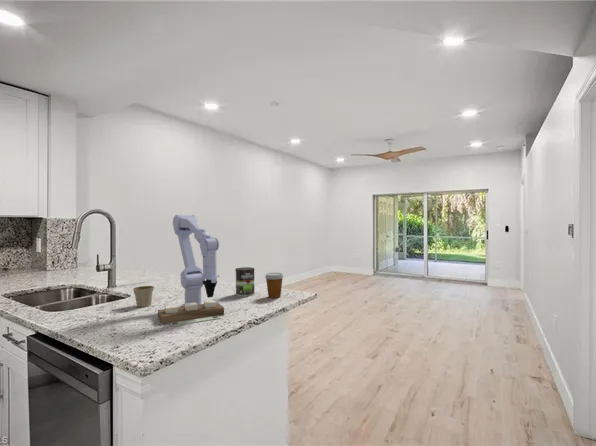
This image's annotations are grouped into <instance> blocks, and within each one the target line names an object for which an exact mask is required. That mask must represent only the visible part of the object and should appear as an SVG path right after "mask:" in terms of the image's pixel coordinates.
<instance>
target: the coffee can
mask: <svg viewBox="0 0 596 446" xmlns="http://www.w3.org/2000/svg"><path fill="white" fill-rule="evenodd" d="M234 271H235V296H238V297H250V296H254V295H255V267H249V266H248V267H247V266H246V267H245V266H244V267H237V268H235V270H234Z"/></svg>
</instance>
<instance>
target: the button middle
mask: <svg viewBox="0 0 596 446" xmlns="http://www.w3.org/2000/svg"><path fill="white" fill-rule="evenodd" d="M184 304H185V303H184ZM197 309H198V304H197V303H196V302H194V303H186V304H185V310H186V311H190V310H197Z"/></svg>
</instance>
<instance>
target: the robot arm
mask: <svg viewBox="0 0 596 446" xmlns="http://www.w3.org/2000/svg"><path fill="white" fill-rule="evenodd" d="M172 218H173V219H172V227H173V232H174V234H175V235H177V238H178V243H179V247H180V251H181V256H182V260H183V264H184V269H183V270H182V271H181V272H180V285H181V287H182V288H183V289H184V303H183V304H182V307H185V304H186V303H194V302H196V303H197V304H198V305H200V304H202V288H203V286H204V289H205V293H206V296H207V298H213V297H214V294H215V289H216V286H217V284H218V280H217V279H218V278H220V274H217V272H218V271H217V251H218V250H219V247H220V242H219V240H218V238H217V237H213V236H211V235H210V234H209V233H208V231H207V230H206V229H205V228H201V227H200V225H199V224H198V220H197V219H198V218H197V217H196V216H195V214H191V215H182V214H181V215H180V214H176V215H174V216H173V217H172ZM191 234H193V237H194V239H195V240H196V242H197V243H198V244H199V248H200V252H201V256H202V268H201V267H199V266H198V265H197V264H196V259H195V257H194V252H193V247H192V242H191V238H190V235H191Z"/></svg>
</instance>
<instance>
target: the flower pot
mask: <svg viewBox="0 0 596 446" xmlns="http://www.w3.org/2000/svg"><path fill="white" fill-rule="evenodd" d="M154 289H155V286H154V285H143V286H136V287H133V288H132V290H133V293H134V296H135V302H136V307H138V308H146V307H149V306H151V305H152V300H153V294H154V293H153V292H154Z"/></svg>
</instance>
